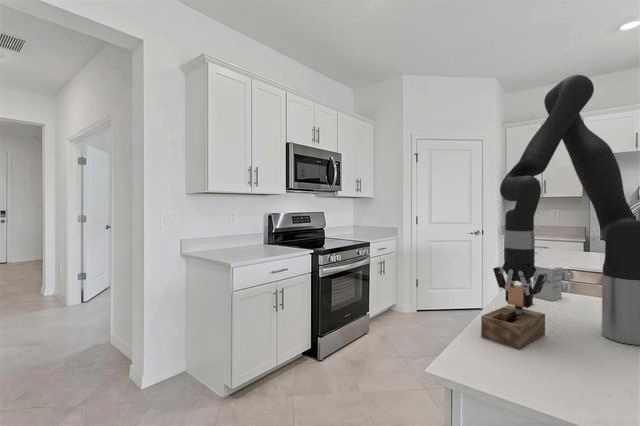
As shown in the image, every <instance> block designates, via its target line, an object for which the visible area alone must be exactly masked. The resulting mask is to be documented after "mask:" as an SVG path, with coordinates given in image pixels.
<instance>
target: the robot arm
mask: <svg viewBox="0 0 640 426" xmlns="http://www.w3.org/2000/svg"><path fill="white" fill-rule="evenodd" d="M594 90H595V87H594V83H593V81H592V80H591V79H590V78H589V77H587V76H586V75H584V74H573V75H570V76H568V77H565V78H564V79H563V80H561V81H560V82H559V83H557V84H556V85H555V86H554V87H552V88H551V89H550V90H549V91H548V92H547V93H546V94H545V96H544V101H543V103H544V107H545V110H546V112H547V114H548V116H547V118H546V119H545V121H544V122H543V124H541V126H540V128H539V129H538V130H537V131H536V133H535V134H534V135H533V137H532V138H531V139H530V141H529V142H528V143H527V145H526V147H525V149H524V151H523V152H522V155H521V157H520V159H519V161H518V162H517V163H516V164H515V165H514V166H513V167H512V168H511V170H510V171H509V172H508V173H507V174H506V175H505V177H504V178H503V179H502V182H501V183H500V186H499V193H500V196H501V197H502V198H503V199H504V200H506V201H508V202H515V206H514V208H513V209H510V210H507V212H506V213H505V218H504V229H505V230H504V236H503V261H504V263H503V265H502V266H496V267H493V268H492V269H493V273H494V276H495V279H496V283H497V285H498V287H499V288H500V289H501V288H502V289H503V290H504V291H505V301H506V303H507V304H508V287H509V286H512V285H515V283H516V282H519V283H521V285H522V286H523V287H524V289H525V294H526V295H525V307H524V309H528V308H531V307H532V306H533V303H534V302H533V301H534V300H533V299H534V297H533V294H538V293H540V292H541V289H542V287H543V285H544V283H545V280H546V278H547V274H545V273H544V274H542V273H540V272H537V271H536V269H535V266H534V265H535V263H536V262H535V259H536V257H535V256H536V251H535V249H536V246H535V245H536V239H535V231H534V230H535V228H534V227H535V222H534V221H535V214H536V212H537V208H538V204H539V203H540V199H541V194H542V186H541V183H540V181H539V180H538V178H536V176H539V175H540V174H543V173H544V172H545V171H546V169H547V167H548V166H549V164H550V162H551V160H552V158H553V156H554V154H555V152H556V150H557V149H558V146H559V145H560V144H561V141H562V142H563V144H564V147H565V150H566V152H567V153H568V156H569V158H570V161H571V163H572V166H573V169H574V171H575V173H576V176H577V179H578V180H579V182H580V184H581V186H582V188H583V190H584V192H585V194H586V195H587V197H588V200H589V201H590V202H591V204H592V206H593V209H594V212H595V214H596V215H595V216H596V218H597V221H598V225H599V229H600V234H601V237H602V240H603V242H605V243H604V244H605V245H604V246H605V247H604V248H605V249H604V262H603V264H602V284H601V285H602V286H601V287H602V289H601V290H602V294H601V295H602V296H601V300H602V301H601V325H600V326H601V335H602V337H604V338H606V339H608V340H612V341H614V342H617V343H622V344H626V345H627V344H628V345H634V346H640V220H638V219H637V218H636V216H635V214H634V213H633V211H632V209H631V207H630V205H629V204H628V201H627V199H626V196H625V191H624V184H623V178H622V172H621V169H620V166H619V163H618V161H617V158H616V157H615V154H614V152H613V150H612V148H611V146H610V145H609V144H608V142H606V141H605V140H603V139H602V138H601V137H600V136H598V135H597V134H595V133H594V132H593V131H592V130H590V129H589V128H588V127H587V125H586V124H585V122H584V120H583V118H582V115H581V111H582V110H583V109H584V108H585V106H586V105H587V104H588V103H589V101H590V100H591V99H592V97H593V95H594V92H595V91H594ZM504 273H505V275H506V277H507V278H506V279H505V276H504ZM534 275H535V279H536V280H537V281H536V283H535V286H534V288H533V281H532V279H533V276H534Z"/></svg>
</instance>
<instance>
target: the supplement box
mask: <svg viewBox="0 0 640 426" xmlns="http://www.w3.org/2000/svg"><path fill="white" fill-rule="evenodd" d="M534 266H535V269H536V271H537V272H540V273H542V274H544V273H545V274H547V278H546V280H545V283H544V285H543V287H542V289H541V292H540V293H538V294H534V297H533V298H537V299H542V300H545V301H546V300H547V301H549V302H554V300H555V301H557V300H561V299H562V295H563V294H562V293H563V292H562V289H563V266H557V265H550V264H545V263H540V264H534ZM536 281H537V280H536V279H535V275H534V276H533V277H532V288H534V286H535V283H536Z"/></svg>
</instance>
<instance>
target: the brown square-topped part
mask: <svg viewBox="0 0 640 426" xmlns="http://www.w3.org/2000/svg"><path fill="white" fill-rule="evenodd" d="M525 295H526V294H525V289H524V287H523V286H520V285H517V284H514V285H512V286H509V287H508V303H507V304H508V305H510V306H515V321H516V317H518V316H520V315H522V314H523V309H524V308H525Z"/></svg>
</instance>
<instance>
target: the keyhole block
mask: <svg viewBox="0 0 640 426" xmlns="http://www.w3.org/2000/svg"><path fill="white" fill-rule="evenodd" d="M480 319H481V320H480V321H481V325H480V328H481V329H480V331H481V332H480V333H481V335H480V336H481V337H480V338H483V339H487V340H490V341H492V342H495V343H498V344H502V345H503V346H508V347H509V348H513V349H516V350H521V349H523V348H525V347H527V346H528V345H530V344H532V343H533V342H535V341H536V340H538V339H540V338H542V337H543V336H545V335H546V313H544V312H538V311H535V310H532V309H528V308H523V314H522V315H520V316H518V317H516V321H515V305H510V304H508V305H504V306H503V307H500V308H498V309H495V310H492V311H490V312H488V313H485V314H483V315H481V318H480Z"/></svg>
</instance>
